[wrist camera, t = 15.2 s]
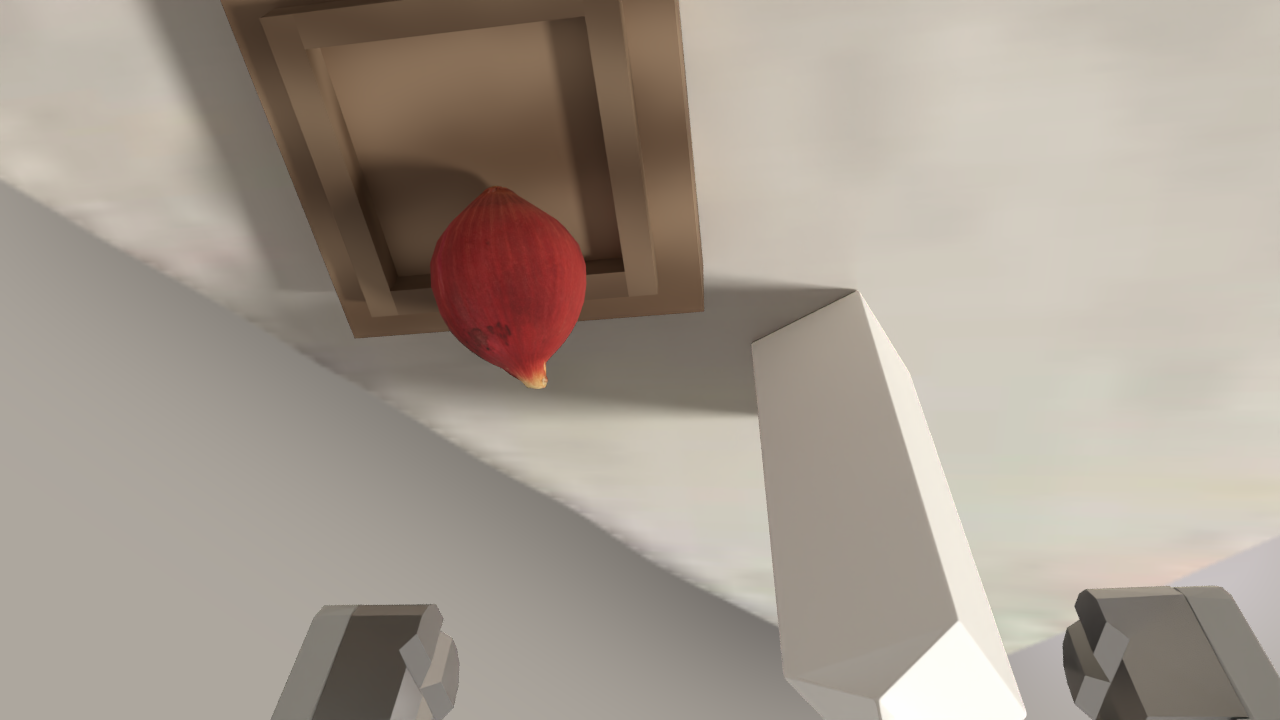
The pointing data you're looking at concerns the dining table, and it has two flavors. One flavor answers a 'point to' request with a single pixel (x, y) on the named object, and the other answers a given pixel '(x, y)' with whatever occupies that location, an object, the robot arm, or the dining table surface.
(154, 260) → the dining table surface
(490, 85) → the walnut pedestal
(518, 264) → the onion
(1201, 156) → the dining table surface
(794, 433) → the milk
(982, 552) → the dining table surface
